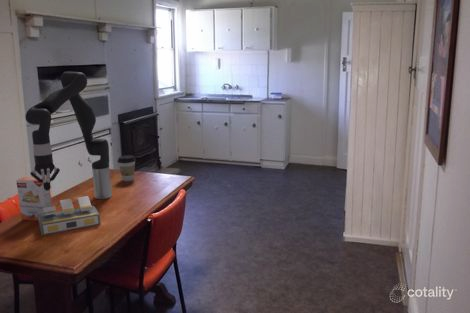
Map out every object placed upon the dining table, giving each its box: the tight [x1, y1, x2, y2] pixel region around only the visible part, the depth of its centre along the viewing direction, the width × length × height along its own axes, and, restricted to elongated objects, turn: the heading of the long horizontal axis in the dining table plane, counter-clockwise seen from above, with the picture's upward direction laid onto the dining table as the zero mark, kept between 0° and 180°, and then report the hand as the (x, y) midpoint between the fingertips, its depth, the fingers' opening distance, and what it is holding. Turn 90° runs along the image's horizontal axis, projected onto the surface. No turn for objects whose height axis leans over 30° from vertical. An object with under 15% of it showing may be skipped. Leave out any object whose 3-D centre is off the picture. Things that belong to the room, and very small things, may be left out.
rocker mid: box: [59, 198, 75, 215], centre depth 217 cm, size 9×5×2 cm, turn 28°
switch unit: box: [38, 205, 101, 236], centre depth 216 cm, size 14×26×6 cm, turn 117°
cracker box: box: [16, 176, 54, 222], centre depth 223 cm, size 14×6×21 cm, turn 78°
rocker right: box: [77, 195, 93, 212], centre depth 220 cm, size 9×5×2 cm, turn 28°
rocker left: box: [43, 205, 57, 213], centre depth 213 cm, size 9×5×2 cm, turn 27°
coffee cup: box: [117, 154, 136, 182], centre depth 288 cm, size 11×11×15 cm
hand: (47, 190), depth 208 cm, fingers closed
